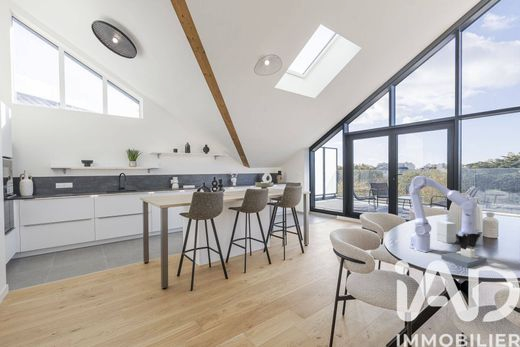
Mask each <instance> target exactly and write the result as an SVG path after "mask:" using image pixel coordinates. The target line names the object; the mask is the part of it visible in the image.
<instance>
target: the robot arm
mask: <svg viewBox="0 0 520 347" xmlns="http://www.w3.org/2000/svg"><path fill="white" fill-rule="evenodd" d="M425 187H428V188H433V189H435V190H437V191H439V192H441V193H442V194H444V195H446V198H447V199H448V200H449V201H451V202H453V203H454V204H456V205H458V206H460V207H461V209H462V211H461V228H460V230H458V232H457V233H456V238H457V240H458V243H459V246H460V249H461V248H462V249H466V248H468V246H469V247H471V248H475V246H476V243H477V241H478V239H479V238H480V237H481V234H480V233H479V229H478V228H476V225H477V224H476V223H477V221H476V220H477V218H476V217H477V214H476V213H477V210H476V209H477V207H478V203H477V201H476V200H474V199H472V198H470V197H469V196H465V195H464V194H462V193H461V191H460V190H455V189H453V190H451V189H449V188H447V187H446V186H445V185H443V184H442V183H440V182H438V181H437V180H436V179H434V178H432V177H430V176H427V175H423V174H422V175H417V176H415V177H414V178H412V179H411V182H410V186H409V188H408V193H409V196H410V201H411V204H412V205H411V206H412V210H413V213H414V218H415V220H414V232H413V233H411V234H410V246H409V248H410V249H412V250H413V249H414V250H416V251H419V252H423V253H427V252H429V253H430V252H432V251H434V249H432V248H431V234H430V232H431V231H432V226H431V224H430V223H429V221H428V220H429V219H427V217H426V213H425V210H424V209H425V208H424V205H423V201H422V197H421V195H420V192H421V191H422V190H423V189H424V188H425Z"/></svg>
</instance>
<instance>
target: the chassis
mask: <svg viewBox="0 0 520 347" xmlns="http://www.w3.org/2000/svg"><path fill="white" fill-rule="evenodd" d="M459 251H461V249H460V250H457V251H451V252H448V253H444V254H441V260H442V259H443V260H442V261H446V262H449V263H450V264H451V263H452V264H455V265H458V266H460V267H464V268H467V269H468V268H471V267H475V266H480V265H482V264H485V263H488V262H487V257H485V256H483V255H478V254H475V256H479V258H477V259H476V258H470V257H467V256H463V255H461V254H459V253H456V252H459Z"/></svg>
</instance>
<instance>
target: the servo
mask: <svg viewBox="0 0 520 347" xmlns="http://www.w3.org/2000/svg"><path fill="white" fill-rule="evenodd" d="M460 250H461V251H460ZM460 250H458V251H459V252H456V251H455V252H456V253H459V254H461V255H463V256H467V257H470V258H476V259H477V258H479V256H480V255H479V256H475V255H476V249H473V248H468V247H467V248H466V249H462V248H461V247H460Z"/></svg>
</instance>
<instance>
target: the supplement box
mask: <svg viewBox="0 0 520 347" xmlns="http://www.w3.org/2000/svg"><path fill="white" fill-rule="evenodd" d="M456 234H457V223H456V222H451V221H447V220H440V221H436V240H437V241H438V242H442V243H445V244H455V242H456V243H457V239H456V238H457V237H456Z"/></svg>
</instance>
